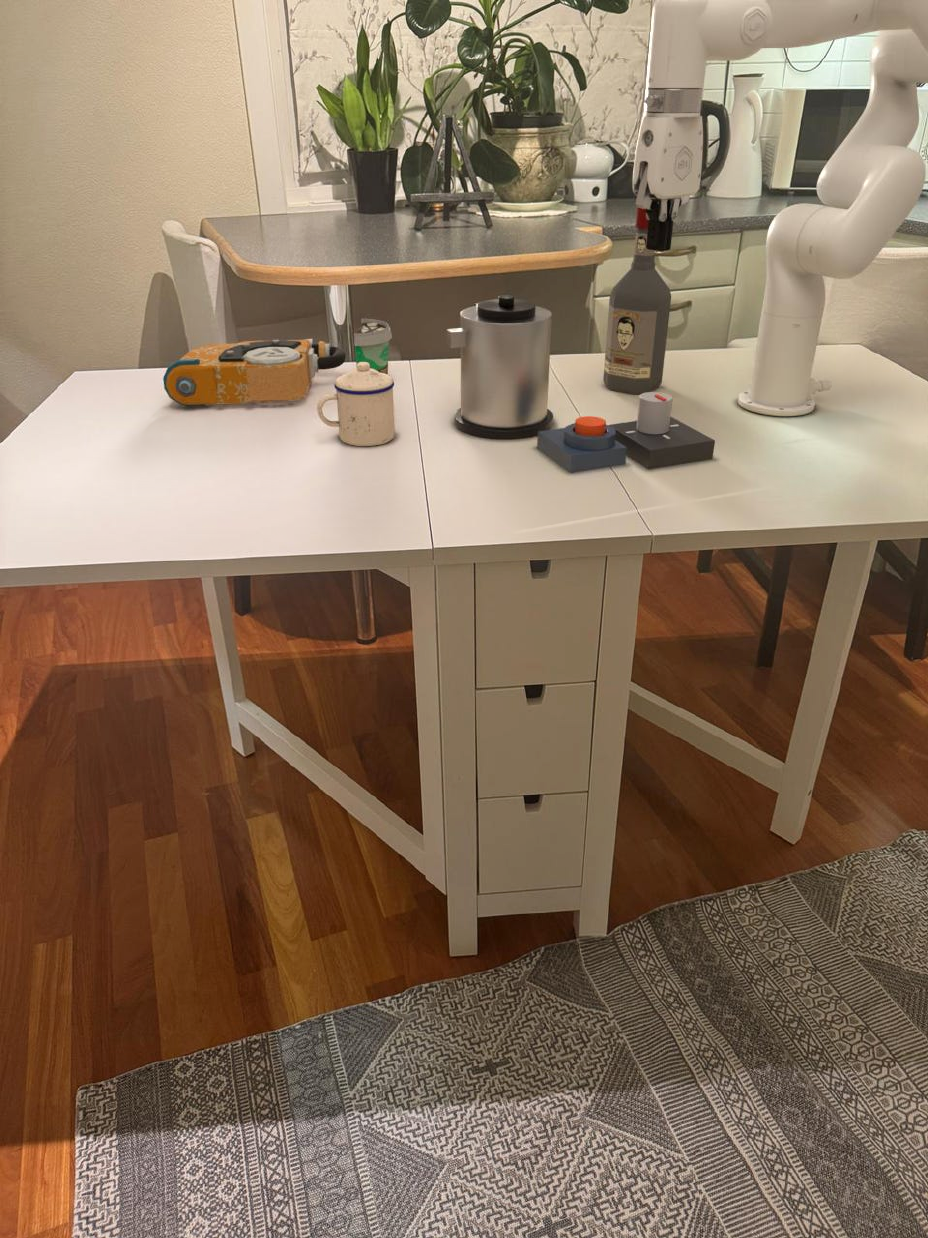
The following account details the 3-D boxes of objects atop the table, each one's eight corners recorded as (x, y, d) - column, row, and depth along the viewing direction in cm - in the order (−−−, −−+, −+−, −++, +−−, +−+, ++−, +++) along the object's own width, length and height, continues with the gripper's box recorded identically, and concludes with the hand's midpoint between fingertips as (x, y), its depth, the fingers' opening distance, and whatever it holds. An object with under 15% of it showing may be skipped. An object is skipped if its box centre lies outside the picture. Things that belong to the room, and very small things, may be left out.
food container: (391, 390, 164) (388, 334, 159) (357, 390, 164) (353, 334, 159) (396, 371, 175) (394, 317, 170) (364, 371, 175) (361, 317, 170)
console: (668, 434, 144) (670, 414, 142) (712, 459, 134) (715, 439, 133) (606, 443, 141) (608, 423, 139) (648, 470, 131) (650, 449, 129)
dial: (630, 426, 138) (633, 391, 135) (657, 422, 140) (661, 388, 137) (647, 436, 134) (650, 400, 132) (674, 432, 136) (679, 397, 133)
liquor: (621, 376, 172) (636, 202, 156) (665, 384, 167) (685, 206, 152) (597, 388, 165) (611, 207, 150) (643, 396, 161) (662, 212, 145)
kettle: (518, 397, 160) (521, 279, 150) (570, 432, 145) (577, 302, 135) (425, 409, 155) (422, 287, 145) (468, 447, 139) (468, 312, 129)
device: (183, 330, 169) (345, 326, 171) (190, 374, 173) (348, 370, 175) (156, 363, 150) (339, 358, 151) (165, 412, 154) (343, 407, 156)
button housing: (589, 440, 141) (591, 412, 139) (625, 464, 133) (628, 435, 130) (536, 448, 139) (538, 419, 136) (570, 473, 130) (572, 443, 128)
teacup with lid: (389, 425, 148) (385, 353, 142) (402, 444, 140) (399, 368, 134) (315, 433, 145) (308, 359, 139) (325, 452, 137) (318, 375, 131)
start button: (595, 426, 135) (596, 414, 134) (610, 435, 131) (611, 423, 131) (569, 429, 134) (570, 418, 133) (583, 439, 130) (584, 427, 129)
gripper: (660, 106, 116) (646, 259, 125) (728, 103, 124) (710, 247, 134) (615, 104, 121) (604, 252, 130) (683, 102, 129) (669, 241, 139)
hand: (658, 249), depth 132 cm, fingers closed
